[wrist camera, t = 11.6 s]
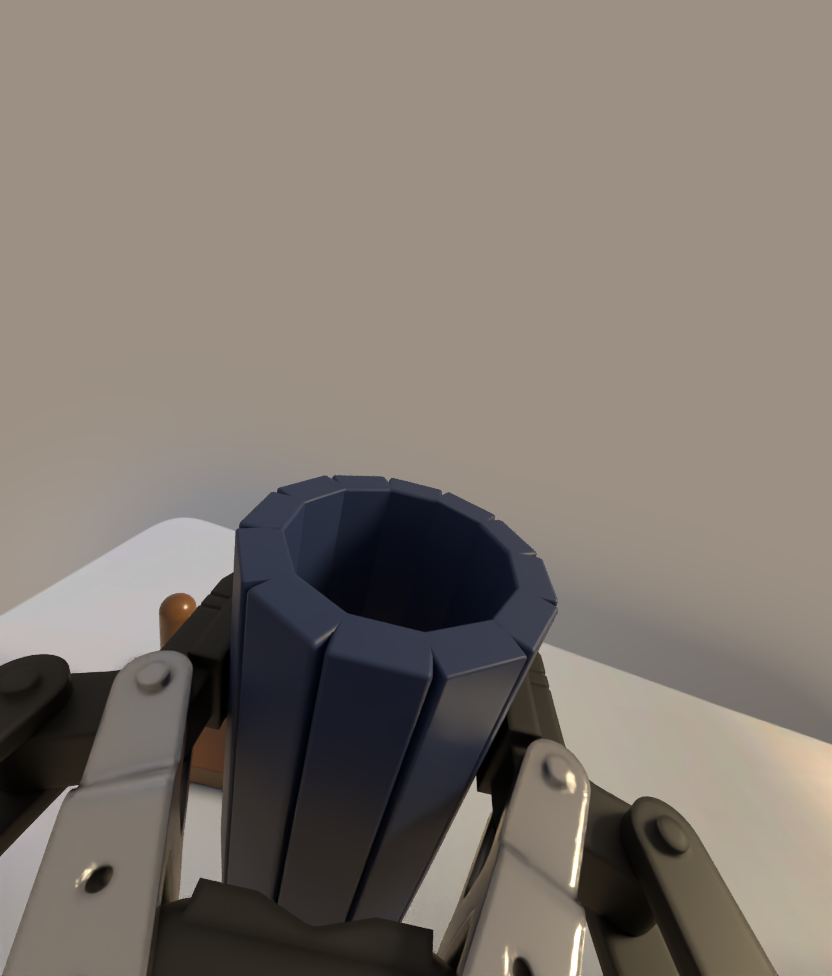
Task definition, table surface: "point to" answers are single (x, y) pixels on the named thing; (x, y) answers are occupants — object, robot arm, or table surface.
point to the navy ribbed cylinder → (366, 686)
